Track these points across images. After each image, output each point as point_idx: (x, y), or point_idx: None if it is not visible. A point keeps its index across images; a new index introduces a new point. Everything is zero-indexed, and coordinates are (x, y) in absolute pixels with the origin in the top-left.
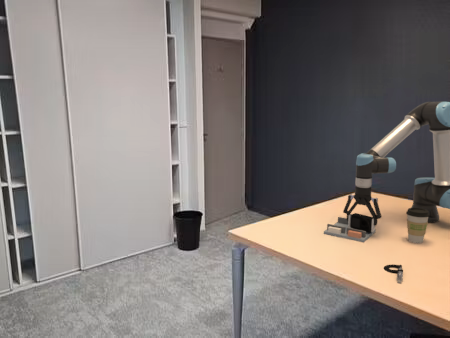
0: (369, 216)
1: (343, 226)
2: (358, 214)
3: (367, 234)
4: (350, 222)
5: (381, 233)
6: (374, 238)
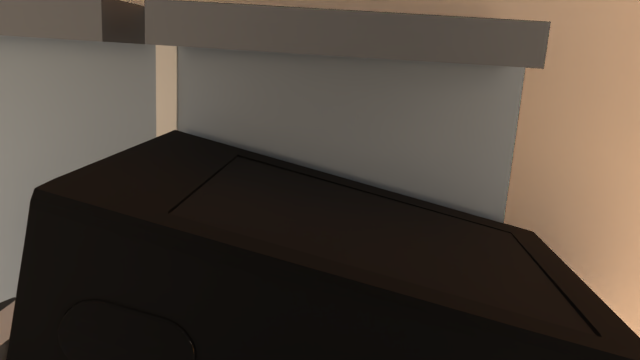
0: (516, 354)
1: (13, 173)
2: (166, 310)
3: None
4: None
5: (621, 72)
6: None
